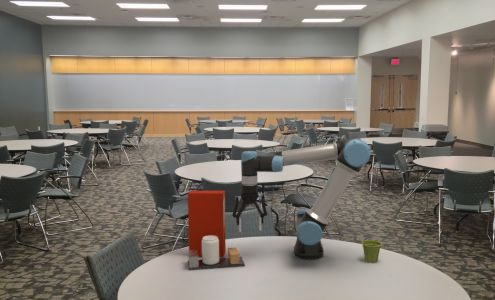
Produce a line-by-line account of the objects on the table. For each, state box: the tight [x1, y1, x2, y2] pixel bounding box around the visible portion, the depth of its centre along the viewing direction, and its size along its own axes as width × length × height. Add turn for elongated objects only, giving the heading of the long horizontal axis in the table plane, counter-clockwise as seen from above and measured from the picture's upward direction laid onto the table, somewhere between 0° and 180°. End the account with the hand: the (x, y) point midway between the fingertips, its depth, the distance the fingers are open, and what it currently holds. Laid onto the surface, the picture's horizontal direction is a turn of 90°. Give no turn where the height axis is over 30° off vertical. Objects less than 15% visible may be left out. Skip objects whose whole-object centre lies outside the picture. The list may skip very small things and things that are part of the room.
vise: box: [187, 249, 246, 271], centre depth 220 cm, size 26×10×6 cm, turn 100°
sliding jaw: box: [227, 246, 240, 264], centre depth 222 cm, size 4×10×5 cm, turn 10°
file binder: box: [187, 190, 227, 258], centre depth 233 cm, size 8×17×32 cm, turn 85°
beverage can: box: [201, 235, 220, 265], centre depth 220 cm, size 8×8×12 cm
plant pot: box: [361, 239, 383, 263], centre depth 224 cm, size 9×9×9 cm
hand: (250, 230), depth 222 cm, fingers open, 9 cm apart
